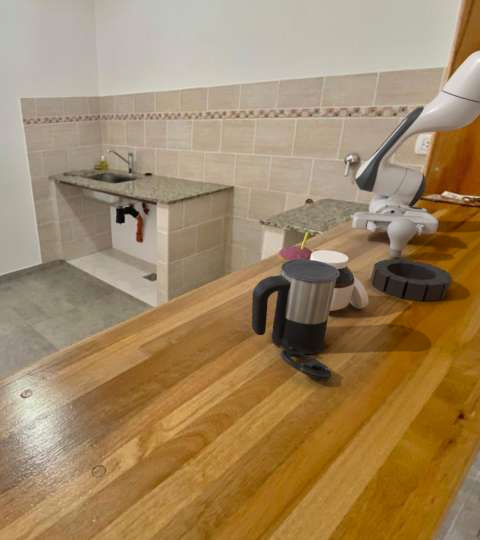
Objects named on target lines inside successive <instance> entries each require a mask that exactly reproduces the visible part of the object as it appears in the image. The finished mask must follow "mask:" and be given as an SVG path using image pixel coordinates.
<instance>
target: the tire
mask: <svg viewBox="0 0 480 540" xmlns="http://www.w3.org/2000/svg"><path fill="white" fill-rule="evenodd" d="M452 280H453V277H452V276H451V274H450V273H449V272H448V271H447V270H445V269H443V268H441V267H439V266H436V265H433V264H431V263H427V262H422V261H419V260H418V261H417V260H416V261H414V260H413V259H402V258H390V259H383V260H379V261H377V262H376V263H374V264H373V267H372V273H371V277H370V282H371V285H372V286H373V288H375V289H377V290H378V291H380V293H385V294H386V295H388V296H392V297H395V298H398V299H402V298H403V299H404V300H406V301H413V302H414V301H415V302H420V303H421V302H425V303H428V302H438V301H441V300H443V299H444V298H446V296H447V295H448V292H449V289H450V287H451V284H452Z"/></svg>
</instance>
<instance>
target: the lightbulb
mask: <svg viewBox="0 0 480 540" xmlns="http://www.w3.org/2000/svg"><path fill="white" fill-rule="evenodd" d="M386 233H387V236H388V238H389V249H390V250H389V256H390V257H391V259H399V258H401V257H402V254H403V251H404V250H405V247H406V246H407V244H408V242H409V241H411V240H412V239H413V237H415V236H416V235H415V233H416V225H415V224H414V222H412V221H411V220H409V219H405V218H400V219H396V220H394V221H392V222H391V223H390V224H389V226H388V228H387V232H386Z"/></svg>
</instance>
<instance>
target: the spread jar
mask: <svg viewBox="0 0 480 540" xmlns="http://www.w3.org/2000/svg"><path fill="white" fill-rule="evenodd" d="M312 252H313V253H312V254H311V258H310V260H315V261H320V262H323V263H326V264H329V265H331V266H333V267H335V268H337V270H338V271H339V276H338V277H337V278H336V282H335V287H334V292H333V297H332V302H331V307H330V312H329V315H332V314H335V313H338V312H340V311H343V310H344V309H345V308H346V307H348V306H349V304H351V306H352V307H354V308H356V309H362V308H366V307H368V305H369V296H368V293H367V290H366V288H365V287H364V285H363V284H362V282H361V281H360V280H359V279H358V278H357V277H356V276H354V274H353V272H352V270H351V269H350V267H348V264H349V256H348V255H346V254H345V253H342V252H339V251H335V250H326V249H325V250H324V249H323V250H322V249H321V250H320V249H319V250H316V251H315V250H314V251H312Z"/></svg>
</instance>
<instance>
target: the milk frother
mask: <svg viewBox="0 0 480 540" xmlns="http://www.w3.org/2000/svg"><path fill="white" fill-rule="evenodd" d="M280 269H281V271H282V273H281V275H273V276H267V277H265V278H263V279H261V280H260V281H259V282H258V283H256V285H255V287H254V288H253V290H252V301H251V303H252V304H251V328H252V330H253V331H254V333H255V334H256V335H258V336H263V335H265V333H266V330H267V329H266V328H267V318H268V317H267V316H268V302H269V298H270V297H271V295H272V294H274V293H277V297H276V303H275V308H274V316H273V321H272V331H271V339H272V341H273V343H275V345H277V346H278V347H279V348H281V349H283V350H281V352H280V353H279V354H280V355H279V356H280V358H281V359H282V360H283V361H284V362H285V363H286V364H287V365H288V366H290V367H292V369H293V368H294V369H295V370H296V371H298V372H300V373H301V374H304V375H306V376H308V377H311V378H314V379H317V380H320V381H326V380H330V379H331V377H332V371H331V368H330V367H327V366H326V365H325V364H324V363H323V362H321V361H320V360H318V359H316V358H314V357H312V356H309V355H314V354H317V353H320V352H321V351H323V350H324V349H325V347H326V342H325V339H326V331H327V327H328V321H329V316H330V314H329V312H330V307H331V302H332V297H333V292H334V287H335V282H336V278H337V277H338V276H339V271H338V270H337V268H335V267H333V266H331V265H329V264H326V263H323V262H320V261H315V260H305V259H302V260H290V261H287V262H285V263H283V264H282V263H281V266H280ZM293 358H297V359H300V360H303V361H306V362H305V363H303V362H300V363H299V362H298V361H296V360H295V359H293Z"/></svg>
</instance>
